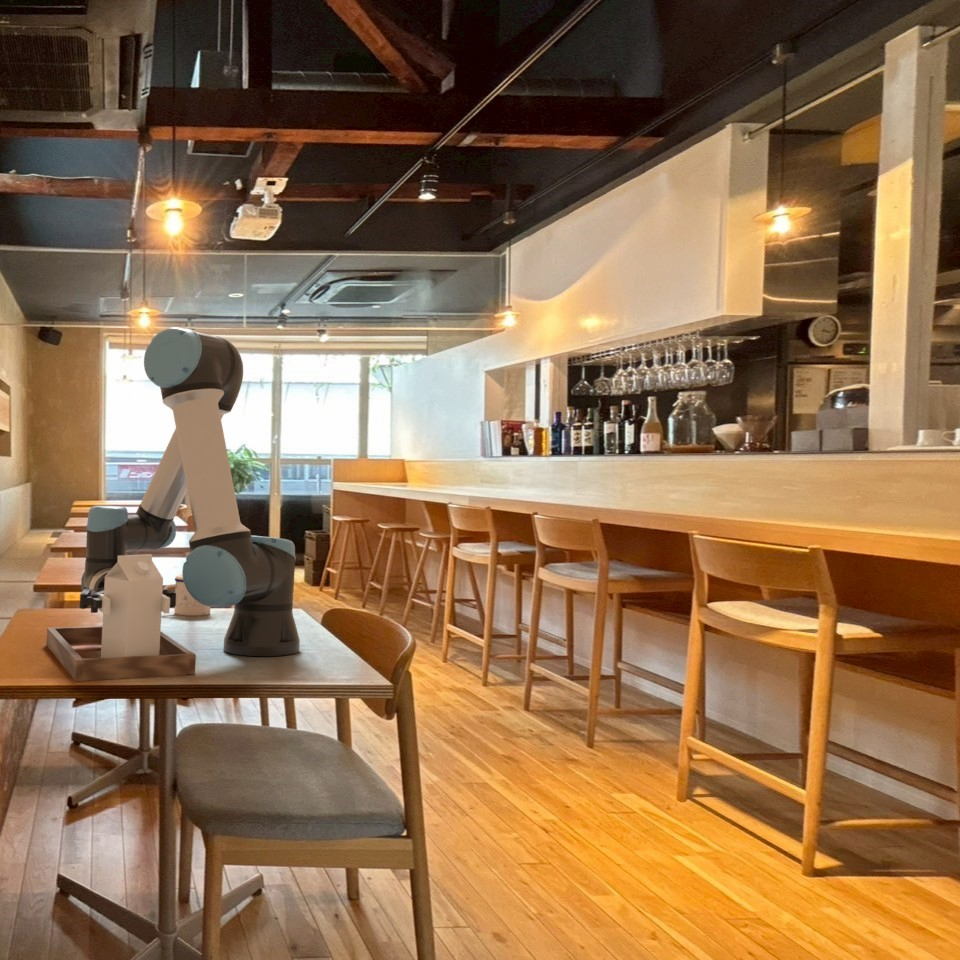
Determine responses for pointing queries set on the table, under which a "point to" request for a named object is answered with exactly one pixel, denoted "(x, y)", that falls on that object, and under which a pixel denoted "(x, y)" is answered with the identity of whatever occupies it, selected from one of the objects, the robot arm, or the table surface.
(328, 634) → the table surface
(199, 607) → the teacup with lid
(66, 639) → the box
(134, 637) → the milk carton
